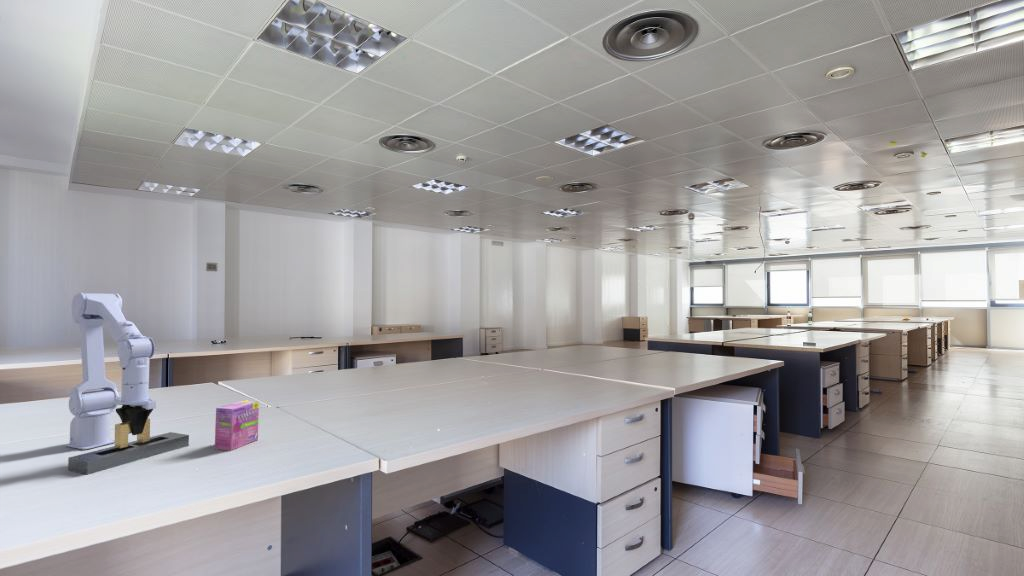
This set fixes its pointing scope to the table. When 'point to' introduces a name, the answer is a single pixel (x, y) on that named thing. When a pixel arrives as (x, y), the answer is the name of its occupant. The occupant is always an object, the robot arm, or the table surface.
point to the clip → (125, 428)
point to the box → (236, 425)
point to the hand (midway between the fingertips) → (133, 433)
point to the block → (126, 453)
